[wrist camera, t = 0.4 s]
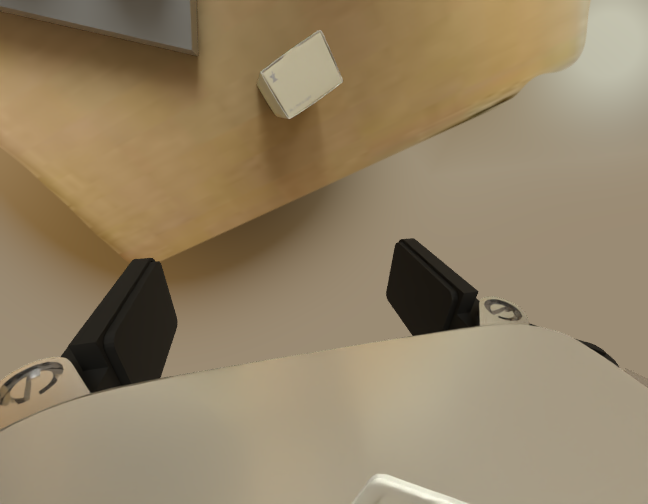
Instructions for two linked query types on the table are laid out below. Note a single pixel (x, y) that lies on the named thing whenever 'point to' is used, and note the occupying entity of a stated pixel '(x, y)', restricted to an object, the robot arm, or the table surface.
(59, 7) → the grey egg holder
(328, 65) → the skincare box
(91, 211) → the table surface
